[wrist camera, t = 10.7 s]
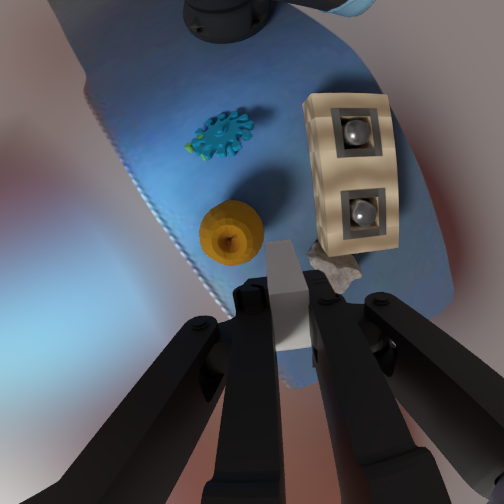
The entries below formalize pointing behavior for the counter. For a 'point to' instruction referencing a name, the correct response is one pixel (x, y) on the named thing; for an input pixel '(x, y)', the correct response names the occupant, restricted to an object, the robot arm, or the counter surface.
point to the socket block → (352, 171)
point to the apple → (231, 233)
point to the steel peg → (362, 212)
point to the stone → (335, 267)
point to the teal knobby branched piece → (221, 136)
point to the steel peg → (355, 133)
